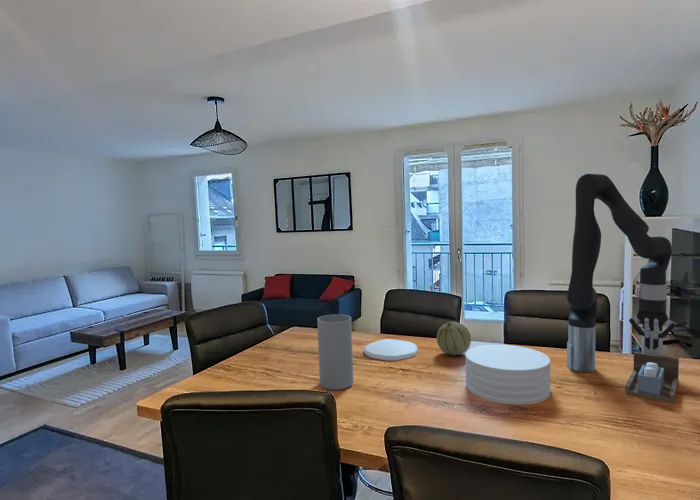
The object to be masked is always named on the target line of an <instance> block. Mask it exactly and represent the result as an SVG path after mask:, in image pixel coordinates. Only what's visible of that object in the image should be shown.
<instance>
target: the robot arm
mask: <svg viewBox="0 0 700 500" xmlns="http://www.w3.org/2000/svg"><path fill="white" fill-rule="evenodd" d="M595 200H599V201H601V202H602V203H603V204H605V205H606V206H607V208H608V209H609V210H610V213H611V217H612V220H613V222H614V224H615V225H616V226H617V228H618V229H619V230H620V231H621V232H622V233H623V234H624V235H625V236H626V237H627V240H628V242H629V244H630V246H631V248H632V250H633V251H634V252H635V254H636V255H637V256H639V257H640V258H642V259H646V260H647V259H648V261H647V264H645V265H643V266H642V267H640V271H639V287H638V312H637V313H636V316H634V317H630V318H629V320H628V321H629V323H630V325H631V326H632V327H633V328H634V330H635V331H636V333H637V334H638V335H639V336H641V337H642V336H644V337H645V346H646V347H647V349H650V347H651V337H650V327H652V328H654V338H653V350H656V348H658V346H659V338H663V339H664V338H665V337H667V336H668V334H669V333H670V332H671V331H672V330H674V328H675V327H676V326H677V323H676V322H675V321H672V320H670V319H669V317H668V314H667V303H668V302H667V300H668V299H667V296H668V295H667V292H668V290H667V269H668V267H669V264H670V261H671V257H672V253H673V247H672V244H671V241H670V240H669V239H668V238H667V237H665V236H650V235H648V233H649V230H650V227H649V225H648V224H647V222H646V221H644V220H643V218H642V217H641V216H639V214H638V213H637V212H636V211H635V210H634V209H633V208H632V207H631V206H630V205H629V204H628V202H627V201H626V199H625V198H624V196H622V194H621V192H620V191H619V190H618V188H617V186H616V185H615V184H614V181H613V180H612V179H611V178H610V177H609V176H608V175H605V174H602V173H584V174H581V175H580V177H579V178H578V179H577V181H576V184H575V217H574V219H575V221H574V232H573V239H572V255H571V273H570V274H571V275H570V279H569V285H568V290H567V292H566V299H567V303H568V304H569V306H570V307H569V308H570V309H569V310H570V311H569V314H568V321H567V322H568V335H567V336H568V341H567V342H566V365H567V368H569V370H570V371H576V372H579V373H592V372H595V370H596V320H597V311H598V310H597V309H598V308H597V307H598V306H597V305H598V295H597V291H596V289H595V288H594V286H593V283H594V280H593V279H594V272H595V269H596V266H597V263H598V261H599V255H600V252H601V245H602V244H601V243H602V232H601V228H600V225H599V223H598V220H597V218H596V214H595ZM639 322H640V323H641V324H642V327H643V326H645V332H644V331H643V329H642V327H641V326H640V325H639ZM665 323H666V324H665ZM664 324H665V325H666V328H665V329H664V330H663V331H662V333H660V334H659V328H660V327H661V326H662V325H664Z"/></svg>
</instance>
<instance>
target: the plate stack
mask: <svg viewBox="0 0 700 500" xmlns="http://www.w3.org/2000/svg"><path fill="white" fill-rule="evenodd" d="M464 358H465V387H466V389H467V391H469V392H470V394H471V393H472V394H473V395H474V396H477V397H479V398H481V399H483V400H487V401H491V402H494V403H499V404H506V405H507V404H508V405H531V404H537V403H540V402H543V401H545V400H547V399H549V398H550V396H551V359H550V357H549V355H546V354H545V353H544V352H542V351H538V350H535V349H533V348H530V347H525V346H518V345H510V344H485V345H479V346H478V345H477V346H474V347H472V348H468V350H467V351H466V352H465V357H464Z"/></svg>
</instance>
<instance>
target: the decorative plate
mask: <svg viewBox="0 0 700 500" xmlns="http://www.w3.org/2000/svg"><path fill="white" fill-rule="evenodd" d="M363 353H364V355H366V356H367V357H369V358H372V359H374V360H375V359H377V360H382V361H401V360H406V359H410V358H413V357H415V356H417V354H418V353H419V348H418V346H417V344H415V343H413V342H412V341H408V340H407V341H406V340H402V339H393V338H384V339H380V340H376V341H374V342H373V341H372V342H370V343H368V344H367V345H366V346H364V349H363Z"/></svg>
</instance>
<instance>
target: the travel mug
mask: <svg viewBox="0 0 700 500" xmlns="http://www.w3.org/2000/svg"><path fill="white" fill-rule="evenodd" d="M663 325H664V324H663ZM663 325H662V326H661V327H660V328H659V334H660V333H662V332H663V331H664V330H663ZM641 329H642V330H643V331H644V332H645V326H643V325H642V327H641ZM650 337H651V347H650V349H647V347H646V346H645V337H644V336H642V335H641V353H647V354H653V355H660V356H663V339H664V338H659V346H658V348H656V350H653V338H654V328H652V327H650Z"/></svg>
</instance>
